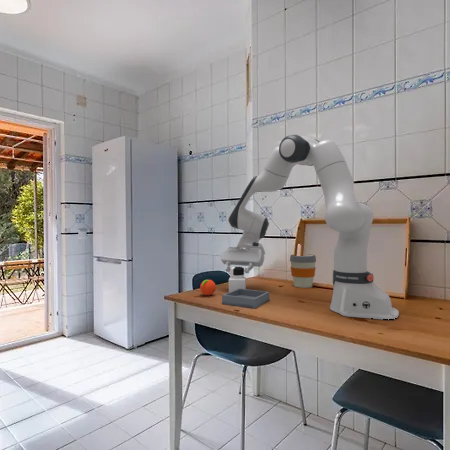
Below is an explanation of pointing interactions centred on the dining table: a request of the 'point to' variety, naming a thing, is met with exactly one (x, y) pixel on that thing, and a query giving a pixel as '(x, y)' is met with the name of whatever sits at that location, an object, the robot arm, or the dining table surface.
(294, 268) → the reusable coffee cup
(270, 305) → the dining table surface
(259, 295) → the tray
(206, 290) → the clementine
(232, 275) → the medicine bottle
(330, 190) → the robot arm
